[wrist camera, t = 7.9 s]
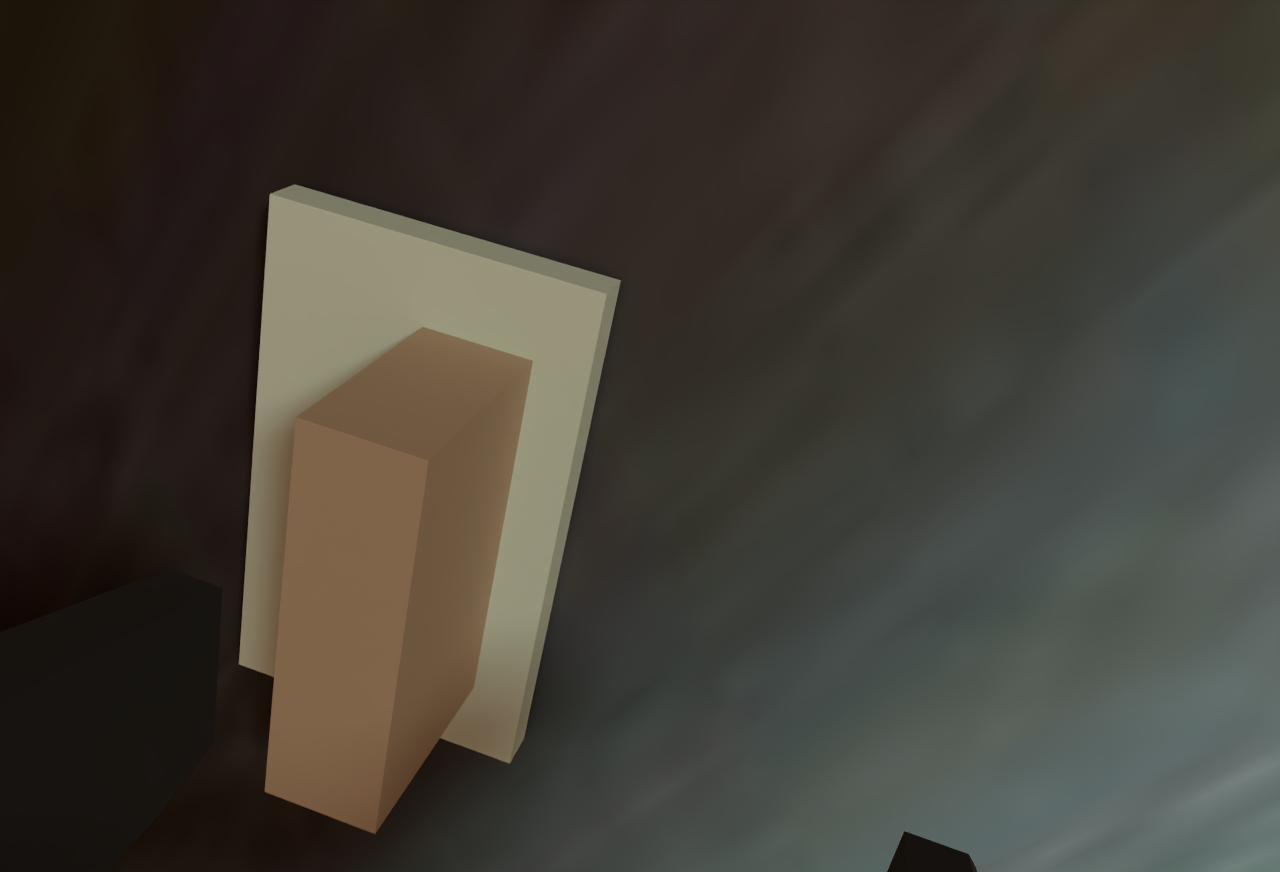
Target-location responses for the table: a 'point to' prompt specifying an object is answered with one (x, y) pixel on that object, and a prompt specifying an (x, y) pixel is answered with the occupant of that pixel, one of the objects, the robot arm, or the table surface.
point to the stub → (407, 491)
